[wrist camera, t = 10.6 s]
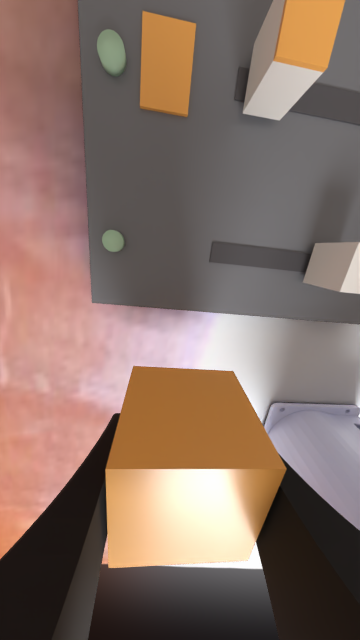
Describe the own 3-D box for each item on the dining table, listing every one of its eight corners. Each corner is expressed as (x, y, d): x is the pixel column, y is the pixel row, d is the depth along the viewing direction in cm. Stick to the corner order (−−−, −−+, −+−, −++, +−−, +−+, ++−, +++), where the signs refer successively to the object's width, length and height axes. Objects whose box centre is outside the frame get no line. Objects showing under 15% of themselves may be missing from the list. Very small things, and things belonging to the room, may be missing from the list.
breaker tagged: (294, 53, 9) (355, -39, 6) (279, 120, 10) (327, 67, 7) (254, 43, 9) (297, -56, 6) (242, 113, 10) (275, 55, 7)
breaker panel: (452, 54, 11) (509, 16, 9) (343, 317, 17) (365, 326, 15) (87, -39, 9) (67, -113, 7) (99, 297, 15) (89, 304, 13)
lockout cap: (232, 371, 11) (286, 469, 6) (216, 442, 12) (247, 560, 8) (133, 366, 10) (105, 469, 5) (131, 441, 12) (108, 568, 7)
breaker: (343, 246, 13) (394, 246, 10) (329, 285, 14) (372, 295, 11) (315, 243, 12) (359, 241, 10) (302, 282, 13) (339, 291, 10)
